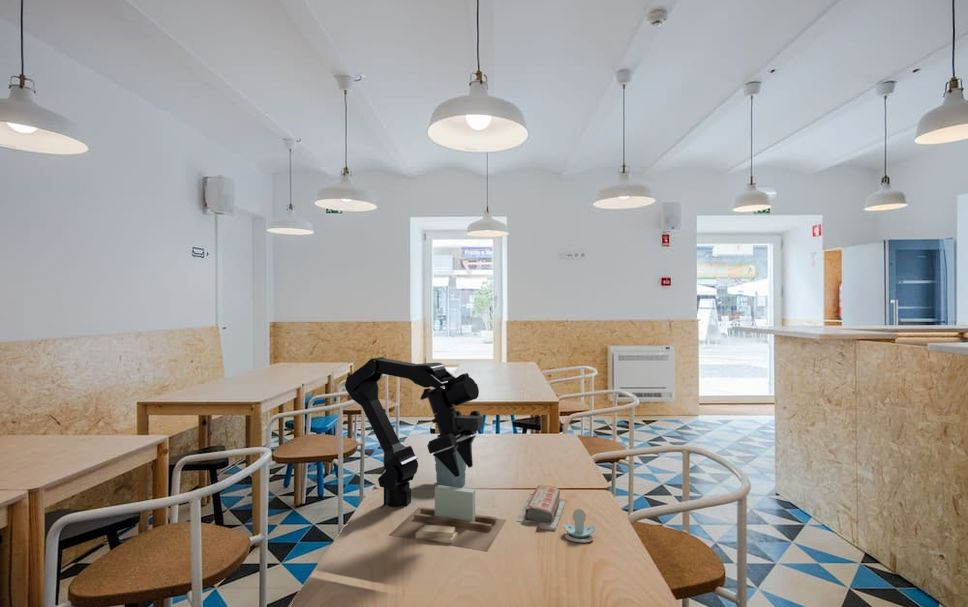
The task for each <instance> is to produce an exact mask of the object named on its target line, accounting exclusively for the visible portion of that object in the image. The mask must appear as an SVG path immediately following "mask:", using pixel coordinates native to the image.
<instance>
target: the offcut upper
mask: <svg viewBox="0 0 968 607" xmlns="http://www.w3.org/2000/svg"><path fill="white" fill-rule="evenodd" d="M454 533H455V527H451V526H435V525H425V526H424V528H423V530H422V535H426V536H441V537H453V535H454Z"/></svg>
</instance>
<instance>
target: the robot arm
mask: <svg viewBox="0 0 968 607" xmlns="http://www.w3.org/2000/svg"><path fill="white" fill-rule="evenodd" d="M383 375H386V376H391V377H392V376H393V377H397V378H403V379H406V380H410V381H411V382H412V383H414V385H417V386H419V387H422V388H424V389H423V392H422V394H421V395H420V400H421V401H423V400H426V399H428V402H429V405H430V408H431V412H432V414H433V419H431V421H432V424H436V427H437V430H438V432H439V434H438V435H436V438H434V439H431V440H429V441H428V443H427V446H426V447H427V450H428V453H429V454H432V456H433V457H434V456H436V457H437V458H438V459H439V460H440V461H441V462H442V463H443V464H444V465H445V466H446V467H447V468H448V469H449V470H450V472H451V473H452V474H453V475H454V476H455V477H458V476H460V473H459V467H458V463H457V458H456V450H457V451H458V453H459V454H460V456H461V457H462V459H463V460H464V462H465V463H466V467H468V468H472V467H473V465H474V464H473V463H474V462H473V450H472V448H473V447H472V446H473V445H472V444H473V442H474V439H475V438H476V437H477V436H476V434H477V433H478V432H479V431H480V430H482V429H483V422H484V420H485V419H484V418H483V414H481V413H480V411H479V410H472V411H471V412H470V414H464V415H463V414H462V412H461V411H460V410H459V409H457V410H456V407H455V406H461V405H464V404H467V403H469V402H471V401H474V400H476V399H478V397H479V395H480V394H479V393H480V391H479V386H478V384H477V383H476V381H475V380H474V379H473V378H472V377H470V374H469V373H468V372H466V373H462V374H460V375H458V376H457V377H456V376H455V375H453V374H452V373H451V372H450V371H448V370H447V368H446V367H445V365H444V364H443V363H441V362H424V363H412V362H407V361H402V360H397V359H390V358H386V357H382V356H381V357H375V358H374V357H373V358H369V360H368V361H367V362H366V363H365V364H364V365H362V366H361V367H359V368H358V369H356V370H355V371H354V372H352V373H351V374H349V375H348V376H347V377H346V379H345V383H344V387H345V390H346V392H347V393H348V395H349V396H350V398H351V399H352V401H354V402H355V403H357V404H358V405H360V407H361V408H362V410H363V412H364V415H365V416H366V419H367V420H368V422H369V424H370V426H371V428H372V431H373V433H374V435H375V437H376V440H377V441H378V443H379V445H380V447H381V449H382V451H383V467H384V472H383V473H382V474H381V475H379V477H378V478H377V481H378V485H379V487H381V488H383V503H382V504H381V506H380V509H381V510H382V509H383V508H384V507H386V506H387V507H391V508H400V507H408V506H409V505H410V504H411V503H412V488H410V487H411V486H410V485H411V484H410V481H413V480H414V477H415V475H416V474H417V472H418V467H419V462H418V459H419V457H417V455H416V454H415V452H414V450H413V447H412V446H411V445H408V446H405V445H403V444H402V443H401V441H400V439H399V437H398V436H397V433H396V431H395V429H394V428H393V426H392V423H391V421H390V420H389V417H388V415H387V413H386V411H385V409H384V407H383V405H382V403H381V400H380V399H379V388H380V387H379V385H378V382H379V381H380V380H381V379H382V377H383ZM431 388H432V389H431ZM434 452H436V453H434Z"/></svg>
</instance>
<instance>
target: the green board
mask: <svg viewBox="0 0 968 607" xmlns="http://www.w3.org/2000/svg"><path fill="white" fill-rule="evenodd" d="M434 509H435V516H439V517H446V518H453V519H460V520H466V521H473V522H475V515H476V489H473V488H466V487H461V488H458V487H450V486H443V485H437V484H436V486H435V487H434Z"/></svg>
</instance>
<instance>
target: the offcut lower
mask: <svg viewBox="0 0 968 607" xmlns="http://www.w3.org/2000/svg"><path fill="white" fill-rule="evenodd" d="M423 528H424V527H421V528H420V529H419V530H418V531H417V532H416V538H420V539H426V540H432V541H438V542H445V543H451V544H452V543H453V542H454V541H455V539H456V538H457V537H458V532H455V533H454V535H453V537H441V536H426V535H422V530H423Z"/></svg>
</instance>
